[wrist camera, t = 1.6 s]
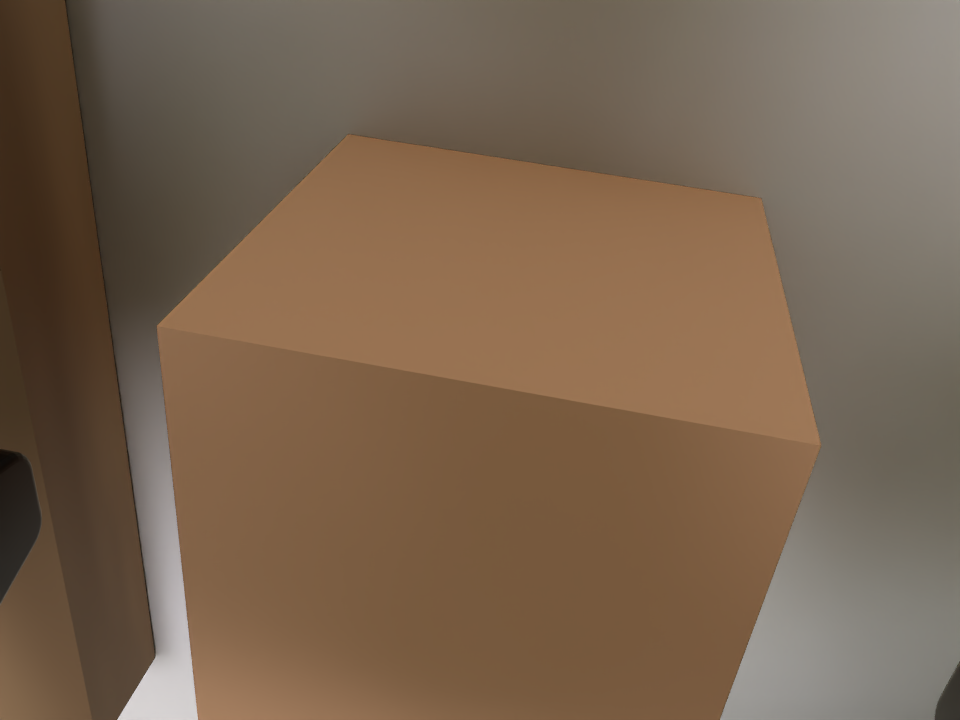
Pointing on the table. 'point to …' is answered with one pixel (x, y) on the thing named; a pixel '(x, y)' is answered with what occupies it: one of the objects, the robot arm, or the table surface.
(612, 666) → the terracotta cube
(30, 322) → the walnut board
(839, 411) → the table surface
